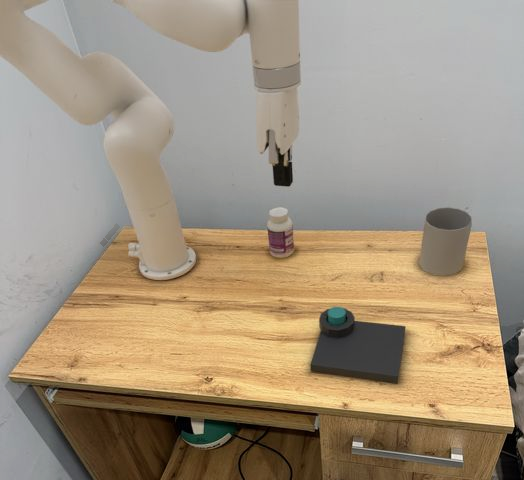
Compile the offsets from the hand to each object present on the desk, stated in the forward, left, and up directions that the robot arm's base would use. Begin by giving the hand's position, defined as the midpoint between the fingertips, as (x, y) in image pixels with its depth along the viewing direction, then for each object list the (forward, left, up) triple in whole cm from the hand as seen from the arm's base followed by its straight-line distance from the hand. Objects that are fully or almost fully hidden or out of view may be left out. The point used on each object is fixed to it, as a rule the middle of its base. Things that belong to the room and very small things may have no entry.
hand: (283, 183), depth 92 cm
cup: (+30, +5, -19) cm, 36 cm away
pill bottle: (-3, +5, -19) cm, 20 cm away
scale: (+18, -23, -18) cm, 34 cm away
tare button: (+13, -19, -15) cm, 28 cm away
